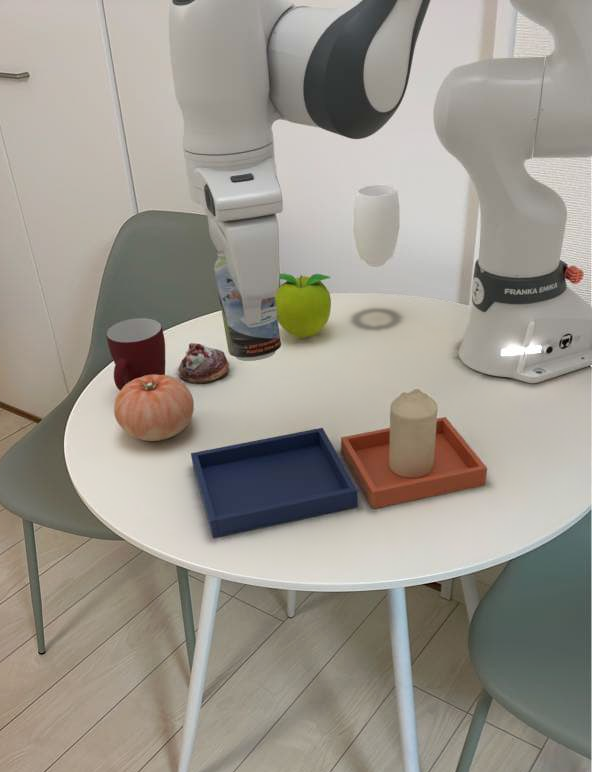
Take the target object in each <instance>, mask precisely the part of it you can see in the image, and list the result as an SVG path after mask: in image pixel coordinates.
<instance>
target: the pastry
mask: <svg viewBox="0 0 592 772" xmlns="http://www.w3.org/2000/svg"><path fill="white" fill-rule="evenodd" d="M229 366H230V363H229V361H228V358H227V357H226V354H225V352H224V351H222V350H220V349H218V348H212V347H208V346H206V345H205V344H201V343H195V342H191V343H189V344H188V348H187V350H186V351H185V356H184V357H183V359H181V362H180V364H179V366H178V369H177V371H178V374H179V376H180V378H181V379H183V380H185V381H188V382H190V383H194V384H206V383H212V382H213V381H217V380H220V379H222V378H224V377H225V376H227V374H228V372H229V369H230V368H229Z"/></svg>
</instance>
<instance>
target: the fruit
mask: <svg viewBox="0 0 592 772" xmlns="http://www.w3.org/2000/svg"><path fill="white" fill-rule="evenodd" d="M327 279H331V276H328V275H325V274H321V273H314V274H312V275H311V276H310V277H309V276H305V275H302V274H300V276H299V277H294V275H291V274H287V273H279V280H283V281H285V282H283V283H281V284H280V285H279V287H278V291H277V294H276V296H275V302H276V310H277V317H278V325H279V326H281V328H282V329H284V331H286V332H287V333H289V334H290V335H292V336H294V337H296V338H297V339H298V338H299V339H307V338H311V337H314V336H316V335H318V334H319V333H320V332H321V331H322V330H323V329H324V328H325V326H326V325H327V323H328V322H329V319H330V315H331V310H332V297H331V294H330V291H329V289H328V288H327V287H326V285H325V284H324V283H323V282H322V281H325V280H327Z"/></svg>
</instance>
